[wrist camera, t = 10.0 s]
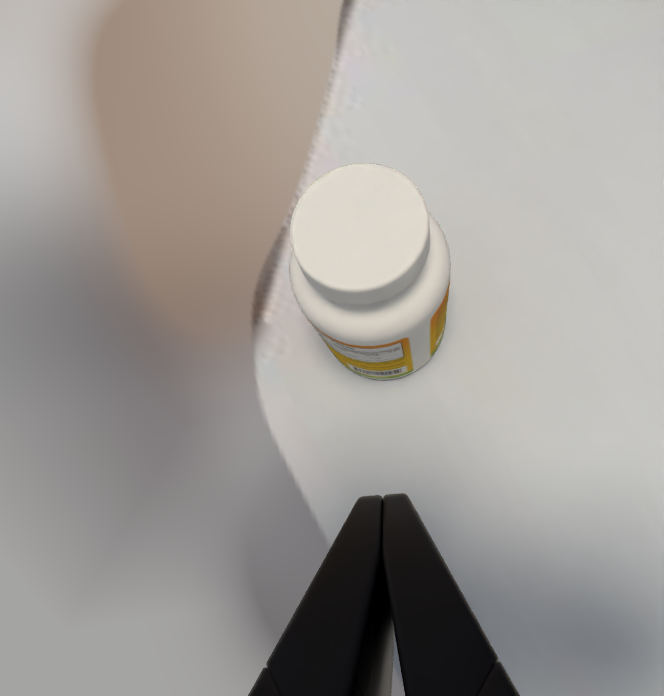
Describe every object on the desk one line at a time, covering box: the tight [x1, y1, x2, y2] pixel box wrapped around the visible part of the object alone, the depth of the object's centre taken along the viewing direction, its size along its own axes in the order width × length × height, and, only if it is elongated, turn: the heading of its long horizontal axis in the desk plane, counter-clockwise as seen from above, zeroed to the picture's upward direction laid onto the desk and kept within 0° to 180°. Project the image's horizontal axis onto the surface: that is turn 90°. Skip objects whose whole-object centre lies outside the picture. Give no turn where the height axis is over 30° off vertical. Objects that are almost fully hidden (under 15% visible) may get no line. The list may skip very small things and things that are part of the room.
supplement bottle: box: [289, 163, 451, 380], centre depth 20 cm, size 5×5×10 cm
